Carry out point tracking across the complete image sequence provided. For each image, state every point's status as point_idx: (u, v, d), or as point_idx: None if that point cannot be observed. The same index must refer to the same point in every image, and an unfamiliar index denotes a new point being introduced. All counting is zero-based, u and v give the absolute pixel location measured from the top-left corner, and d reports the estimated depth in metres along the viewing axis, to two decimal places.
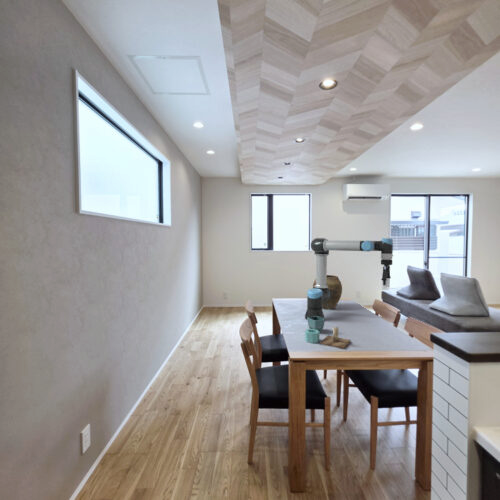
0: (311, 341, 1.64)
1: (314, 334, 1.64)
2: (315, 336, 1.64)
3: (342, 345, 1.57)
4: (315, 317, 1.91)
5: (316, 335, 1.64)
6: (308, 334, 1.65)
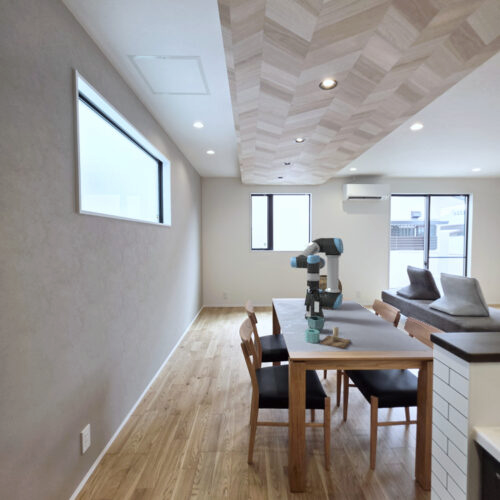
0: (311, 341, 1.64)
1: (314, 334, 1.64)
2: (315, 336, 1.64)
3: (342, 345, 1.57)
4: (315, 317, 1.91)
5: (316, 335, 1.64)
6: (308, 334, 1.65)
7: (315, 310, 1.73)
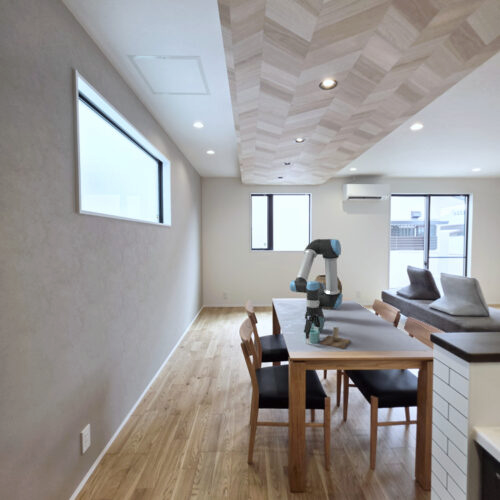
0: (311, 341, 1.64)
1: (314, 334, 1.64)
2: (315, 336, 1.64)
3: (342, 345, 1.57)
4: None
5: (316, 335, 1.64)
6: None
7: None
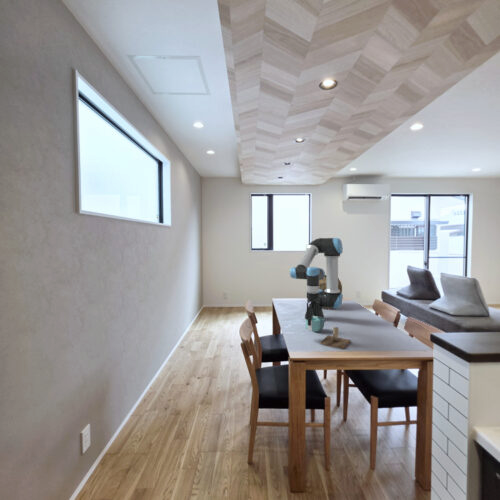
0: None
1: (314, 322, 1.64)
2: (315, 324, 1.64)
3: (342, 345, 1.57)
4: None
5: (316, 323, 1.64)
6: None
7: None
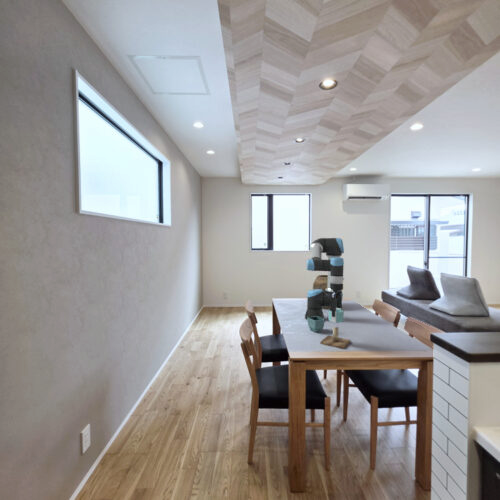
0: None
1: (339, 313, 1.60)
2: (340, 315, 1.60)
3: (342, 345, 1.57)
4: (315, 317, 1.91)
5: (341, 314, 1.60)
6: None
7: None
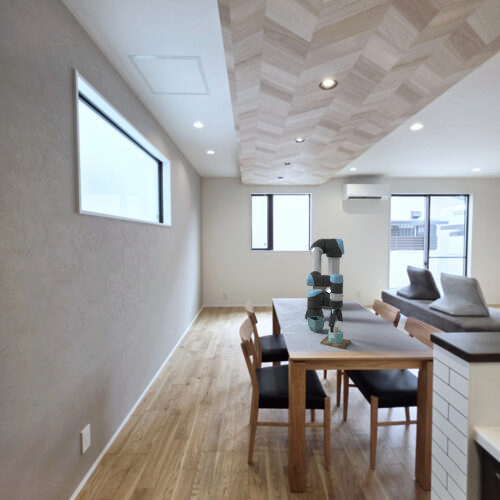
0: (335, 341, 1.60)
1: (338, 334, 1.60)
2: (339, 336, 1.60)
3: (342, 345, 1.57)
4: (315, 317, 1.91)
5: (340, 335, 1.61)
6: None
7: None
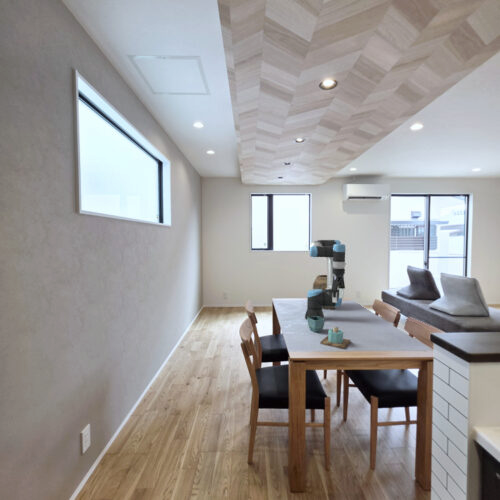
0: (335, 341, 1.60)
1: (338, 334, 1.60)
2: (339, 336, 1.60)
3: (342, 345, 1.57)
4: (315, 317, 1.91)
5: (340, 335, 1.61)
6: (332, 334, 1.61)
7: (340, 296, 1.82)
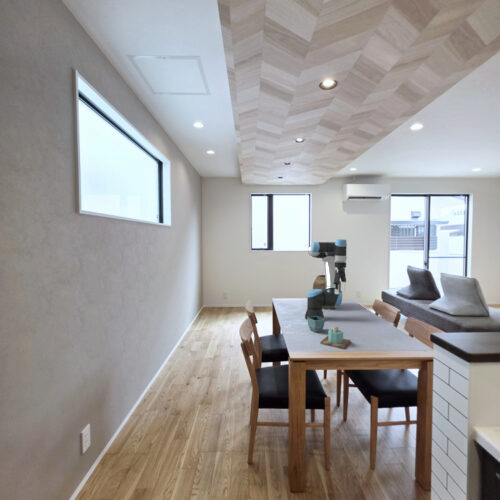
0: (335, 341, 1.60)
1: (338, 334, 1.60)
2: (339, 336, 1.60)
3: (342, 345, 1.57)
4: (315, 317, 1.91)
5: (340, 335, 1.61)
6: (332, 334, 1.61)
7: (341, 289, 1.92)
